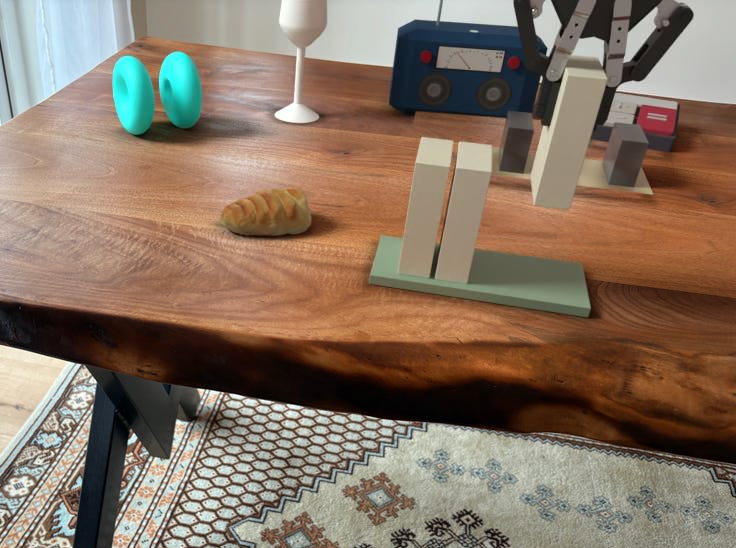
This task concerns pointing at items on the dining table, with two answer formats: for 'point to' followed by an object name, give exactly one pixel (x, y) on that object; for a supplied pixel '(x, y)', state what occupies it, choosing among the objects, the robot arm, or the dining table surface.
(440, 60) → the radio
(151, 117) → the donuts
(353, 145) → the dining table surface
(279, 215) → the pastry
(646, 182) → the grey bookends
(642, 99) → the calculator
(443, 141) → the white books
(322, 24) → the champagne flute
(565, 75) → the cream book
